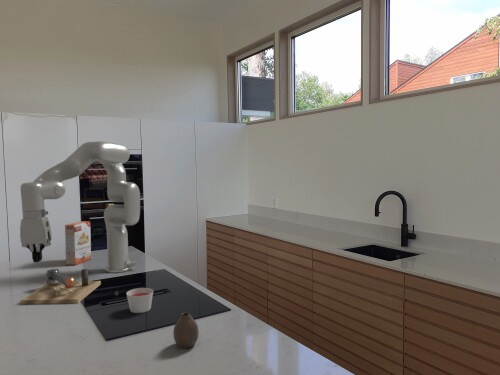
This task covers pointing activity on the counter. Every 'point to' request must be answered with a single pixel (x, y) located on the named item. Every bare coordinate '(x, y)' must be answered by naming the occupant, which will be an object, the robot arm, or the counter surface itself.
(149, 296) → the candle
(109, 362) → the counter surface
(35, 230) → the robot arm
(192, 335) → the vase
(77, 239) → the cracker box
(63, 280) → the lever
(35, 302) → the base
